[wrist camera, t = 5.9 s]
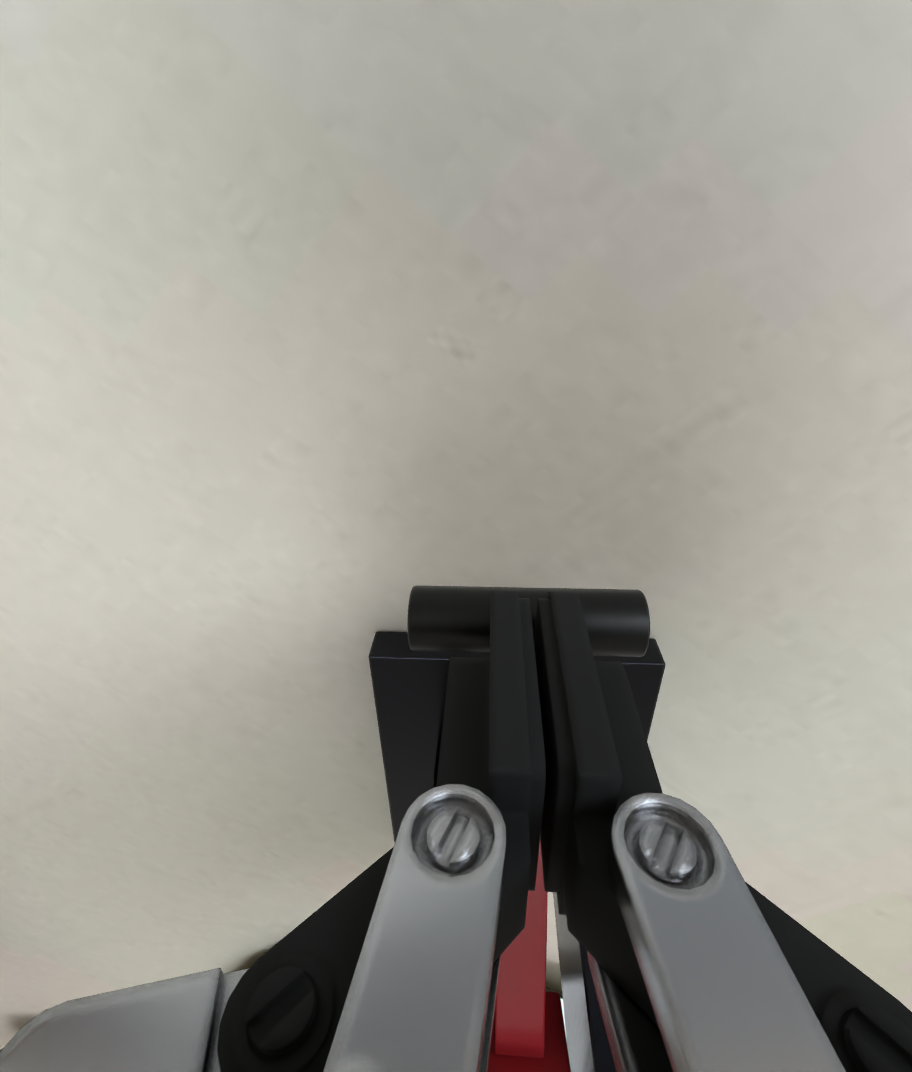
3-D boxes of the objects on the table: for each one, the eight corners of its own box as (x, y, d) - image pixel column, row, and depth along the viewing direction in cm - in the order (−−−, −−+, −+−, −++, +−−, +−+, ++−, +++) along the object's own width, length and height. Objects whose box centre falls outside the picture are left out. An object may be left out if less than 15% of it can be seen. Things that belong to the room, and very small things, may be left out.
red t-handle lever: (419, 579, 13) (403, 594, 10) (627, 582, 12) (659, 599, 10) (416, 1084, 13) (400, 1209, 11) (613, 1101, 13) (641, 1231, 11)
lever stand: (375, 630, 17) (233, 1105, 8) (656, 637, 17) (866, 1159, 7) (402, 840, 23) (339, 1252, 14) (608, 851, 22) (690, 1288, 13)
